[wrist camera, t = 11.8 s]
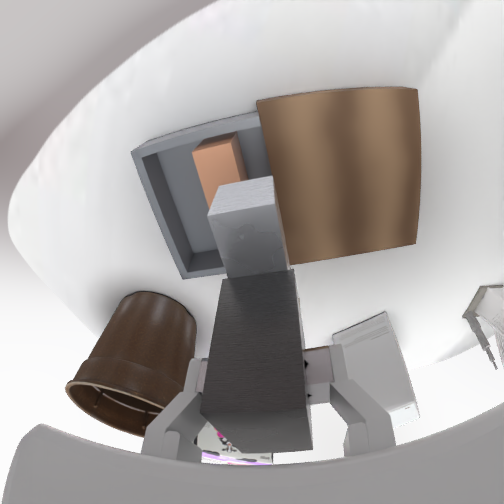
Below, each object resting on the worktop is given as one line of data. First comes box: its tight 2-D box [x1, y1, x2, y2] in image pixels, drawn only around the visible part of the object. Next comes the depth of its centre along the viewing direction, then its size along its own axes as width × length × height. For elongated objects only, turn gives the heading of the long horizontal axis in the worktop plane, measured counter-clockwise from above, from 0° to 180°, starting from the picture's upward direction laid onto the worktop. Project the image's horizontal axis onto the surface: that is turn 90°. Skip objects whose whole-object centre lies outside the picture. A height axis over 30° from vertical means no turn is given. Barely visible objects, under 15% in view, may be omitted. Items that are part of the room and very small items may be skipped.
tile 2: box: [192, 131, 249, 210], centre depth 23 cm, size 5×5×3 cm
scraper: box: [200, 176, 313, 454], centre depth 12 cm, size 3×11×9 cm, turn 13°
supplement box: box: [333, 312, 420, 428], centre depth 34 cm, size 9×9×15 cm
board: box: [256, 87, 421, 265], centre depth 24 cm, size 14×16×3 cm
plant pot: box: [65, 292, 196, 438], centre depth 32 cm, size 16×16×16 cm
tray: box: [131, 111, 272, 279], centre depth 26 cm, size 11×14×4 cm
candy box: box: [192, 422, 273, 465], centre depth 41 cm, size 14×6×16 cm, turn 56°
